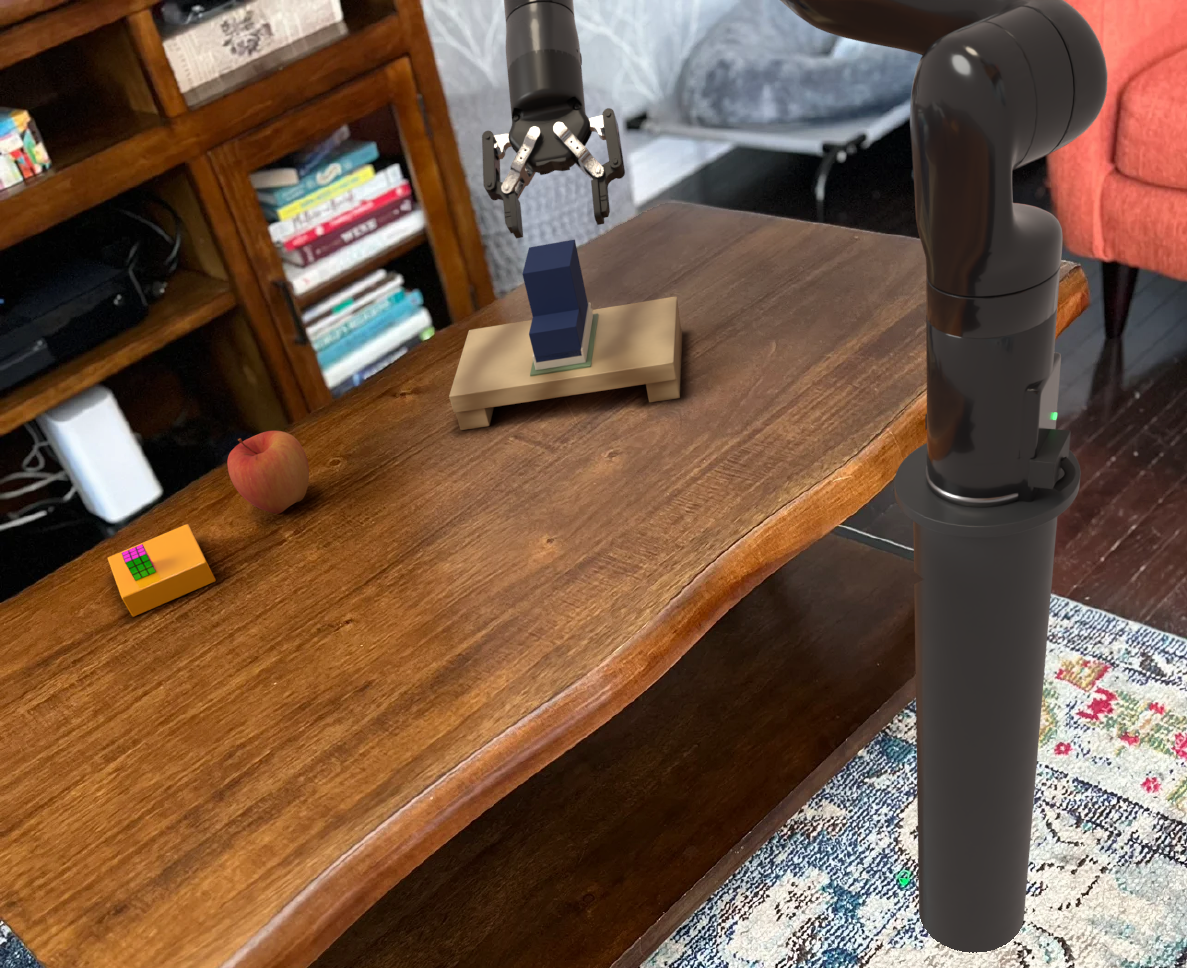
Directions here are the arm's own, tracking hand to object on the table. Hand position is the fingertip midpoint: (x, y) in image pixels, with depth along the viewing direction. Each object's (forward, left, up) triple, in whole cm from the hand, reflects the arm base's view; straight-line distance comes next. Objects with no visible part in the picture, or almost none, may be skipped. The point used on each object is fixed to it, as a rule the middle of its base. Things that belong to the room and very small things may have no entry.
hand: (558, 228), depth 125 cm
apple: (+13, +36, -11) cm, 40 cm away
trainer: (-5, +10, -7) cm, 13 cm away
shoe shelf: (-5, +10, -11) cm, 16 cm away
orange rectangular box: (+17, +49, -11) cm, 53 cm away
